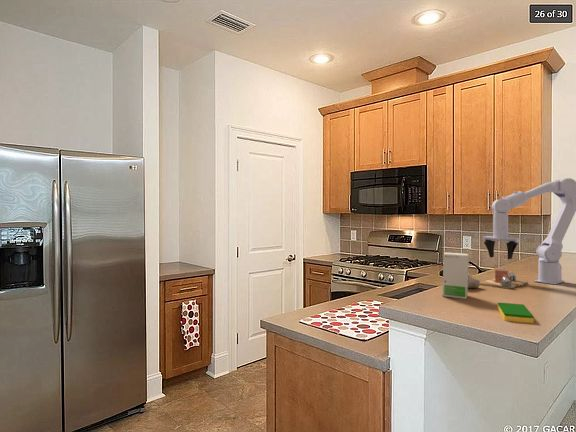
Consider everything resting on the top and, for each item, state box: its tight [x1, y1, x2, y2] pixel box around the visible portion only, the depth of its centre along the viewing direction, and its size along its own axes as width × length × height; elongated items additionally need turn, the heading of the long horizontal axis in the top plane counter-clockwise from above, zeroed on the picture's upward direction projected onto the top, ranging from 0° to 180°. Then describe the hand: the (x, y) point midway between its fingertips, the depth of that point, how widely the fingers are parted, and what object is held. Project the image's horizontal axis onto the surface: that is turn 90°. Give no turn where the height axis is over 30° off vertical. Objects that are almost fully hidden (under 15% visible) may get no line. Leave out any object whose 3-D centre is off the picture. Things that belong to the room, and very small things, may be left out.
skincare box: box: [442, 251, 469, 300], centre depth 138 cm, size 8×7×16 cm
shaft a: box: [509, 271, 517, 281], centre depth 162 cm, size 5×3×3 cm
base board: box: [480, 278, 529, 290], centre depth 159 cm, size 17×12×1 cm
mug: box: [468, 273, 481, 289], centre depth 152 cm, size 8×10×10 cm
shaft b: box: [500, 276, 511, 286], centre depth 152 cm, size 4×3×3 cm
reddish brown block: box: [494, 268, 510, 283], centre depth 158 cm, size 4×4×5 cm
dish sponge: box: [497, 302, 534, 324], centre depth 113 cm, size 7×14×2 cm, turn 158°
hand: (500, 258), depth 166 cm, fingers open, 7 cm apart
